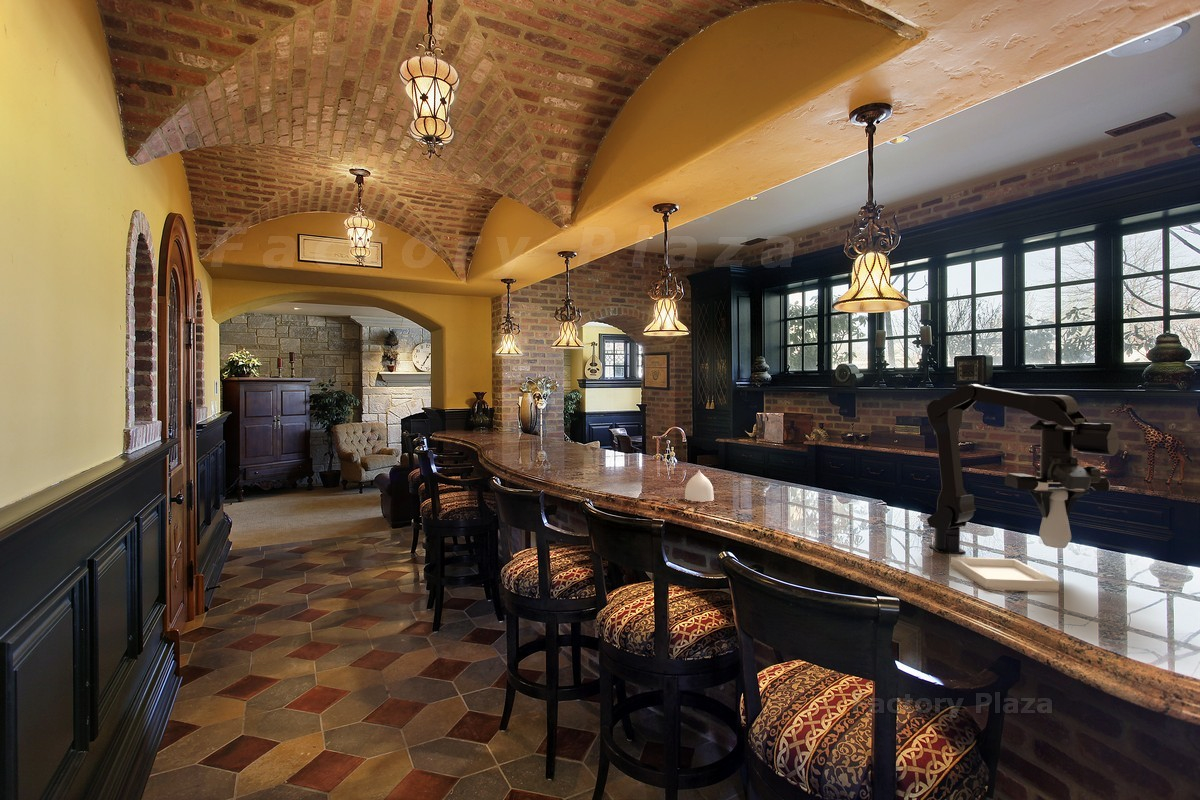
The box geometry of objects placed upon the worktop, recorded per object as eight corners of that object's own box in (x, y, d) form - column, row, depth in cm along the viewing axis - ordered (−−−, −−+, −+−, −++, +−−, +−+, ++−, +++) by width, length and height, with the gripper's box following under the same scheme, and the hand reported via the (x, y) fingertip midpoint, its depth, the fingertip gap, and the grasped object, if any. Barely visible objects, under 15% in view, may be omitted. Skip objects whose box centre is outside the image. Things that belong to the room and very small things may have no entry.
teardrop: (683, 497, 227) (683, 466, 226) (711, 497, 226) (711, 466, 226) (686, 503, 216) (686, 471, 215) (716, 503, 215) (716, 470, 215)
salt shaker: (1039, 540, 135) (1040, 485, 135) (1071, 544, 131) (1072, 487, 131) (1038, 546, 130) (1039, 488, 130) (1071, 550, 127) (1072, 491, 126)
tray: (951, 566, 139) (951, 556, 139) (1014, 568, 137) (1015, 558, 137) (986, 589, 123) (986, 579, 123) (1058, 592, 121) (1059, 581, 121)
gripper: (1033, 455, 123) (1032, 527, 124) (1130, 456, 121) (1128, 530, 122) (1003, 449, 135) (1002, 515, 135) (1092, 449, 132) (1090, 517, 133)
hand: (1055, 519), depth 131 cm, fingers closed on salt shaker, 3 cm apart
